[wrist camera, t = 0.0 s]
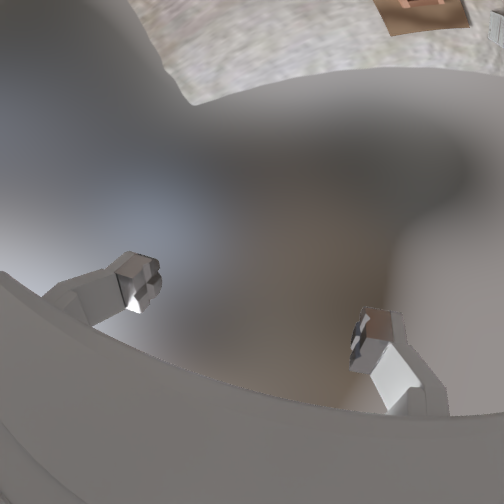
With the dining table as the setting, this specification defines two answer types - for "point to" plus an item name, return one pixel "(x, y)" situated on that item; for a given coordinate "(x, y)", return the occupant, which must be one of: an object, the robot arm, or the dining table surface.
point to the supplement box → (496, 29)
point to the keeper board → (421, 15)
